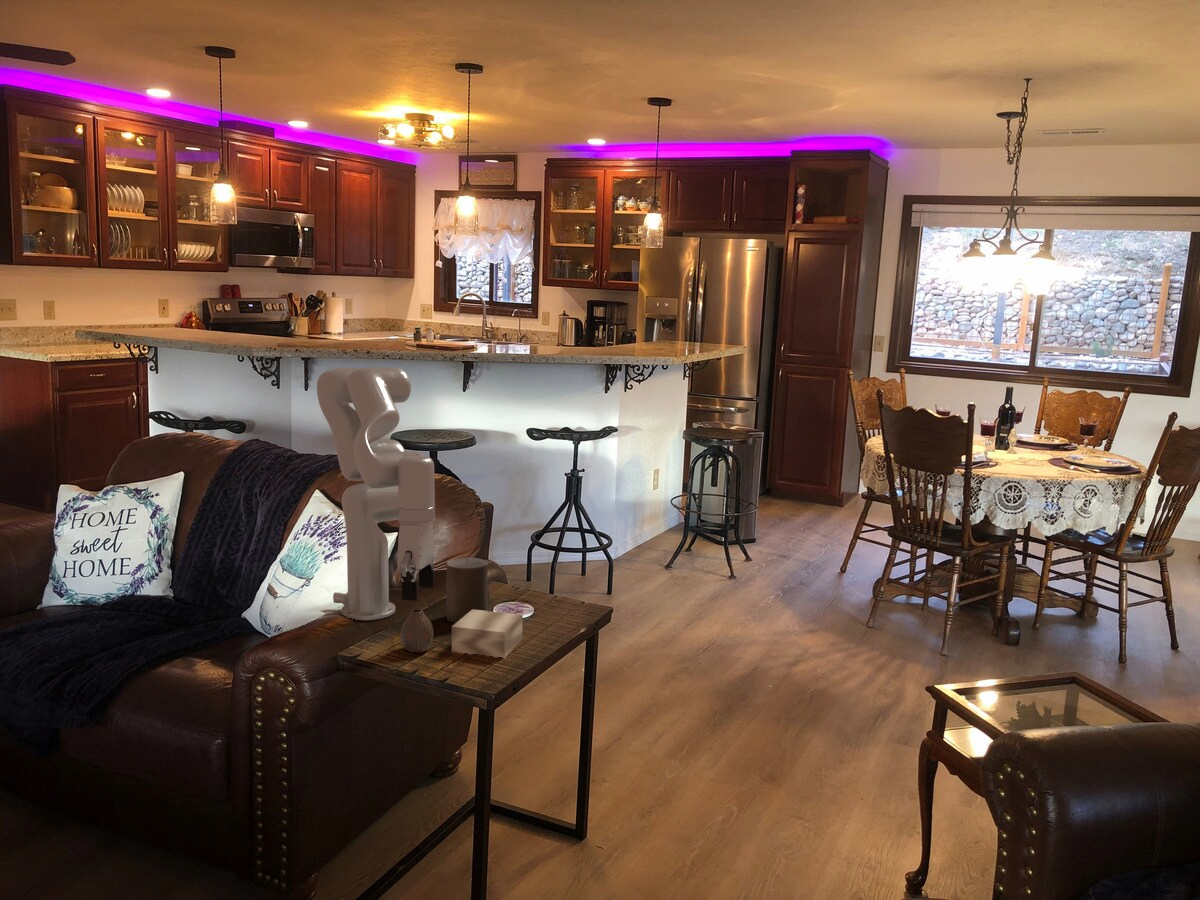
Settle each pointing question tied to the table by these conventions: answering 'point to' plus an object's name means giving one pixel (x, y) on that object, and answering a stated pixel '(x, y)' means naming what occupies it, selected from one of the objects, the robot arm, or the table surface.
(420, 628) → the vase
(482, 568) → the pillar candle
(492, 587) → the table surface
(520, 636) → the maple block
